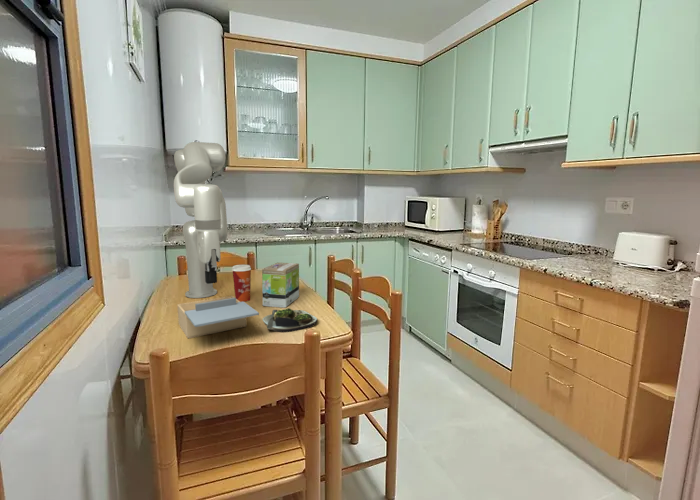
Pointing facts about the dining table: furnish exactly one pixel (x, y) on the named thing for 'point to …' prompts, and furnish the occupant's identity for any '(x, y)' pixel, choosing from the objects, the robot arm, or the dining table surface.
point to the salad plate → (289, 320)
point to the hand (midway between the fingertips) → (211, 282)
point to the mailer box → (205, 329)
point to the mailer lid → (219, 312)
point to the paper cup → (242, 282)
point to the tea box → (280, 284)
